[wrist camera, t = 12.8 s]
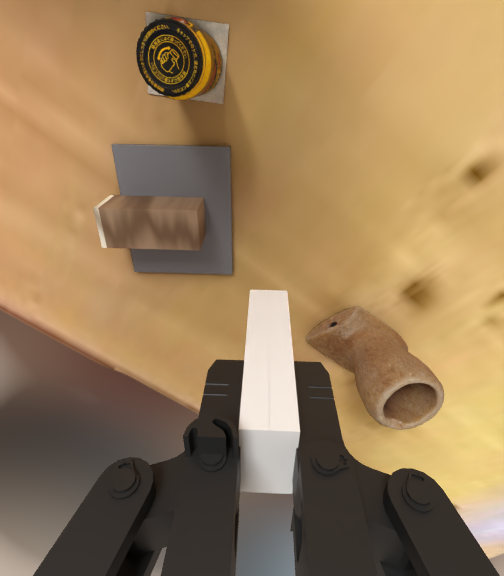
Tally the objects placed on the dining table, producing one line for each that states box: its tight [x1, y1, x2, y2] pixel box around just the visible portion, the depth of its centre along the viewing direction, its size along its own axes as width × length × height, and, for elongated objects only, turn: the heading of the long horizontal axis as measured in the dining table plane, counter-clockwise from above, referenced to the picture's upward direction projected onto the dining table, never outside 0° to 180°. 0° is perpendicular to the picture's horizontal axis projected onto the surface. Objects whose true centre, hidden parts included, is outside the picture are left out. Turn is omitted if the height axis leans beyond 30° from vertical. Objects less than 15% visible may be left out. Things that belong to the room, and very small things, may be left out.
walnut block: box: [93, 195, 206, 250], centre depth 44 cm, size 5×5×12 cm
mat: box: [112, 144, 233, 275], centre depth 46 cm, size 17×14×1 cm
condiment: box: [136, 12, 229, 104], centre depth 32 cm, size 7×8×12 cm
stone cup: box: [305, 307, 444, 429], centre depth 49 cm, size 15×12×15 cm
